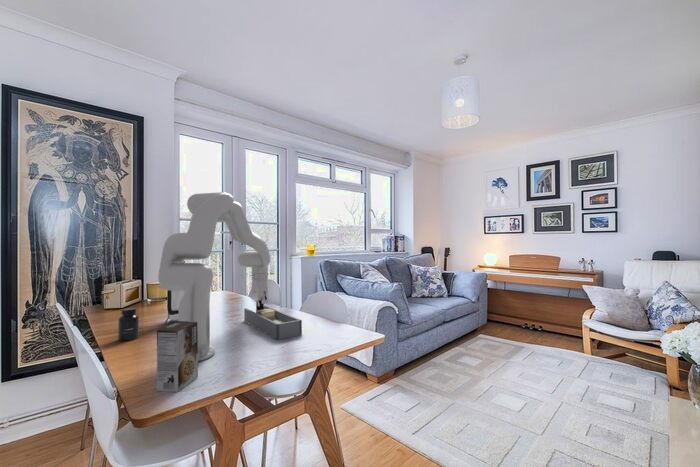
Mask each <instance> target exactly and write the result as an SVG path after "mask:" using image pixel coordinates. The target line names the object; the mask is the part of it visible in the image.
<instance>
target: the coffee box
mask: <svg viewBox="0 0 700 467" xmlns="http://www.w3.org/2000/svg"><path fill="white" fill-rule="evenodd" d="M198 377H199V361H198V333H197V322H189V321H174V322H173V323H171V324H170V323H169V324H167V325H165V326H163V327H160V328H158V329H157V330H156V391H157V392H173V393H175V392H176V393H179V392H180V391H182V390H183V389H184V388H185V387H187V386H189V385H190V384H191V383H192V382H193V381H194V380H196V379H198Z"/></svg>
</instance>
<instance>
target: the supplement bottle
mask: <svg viewBox="0 0 700 467" xmlns="http://www.w3.org/2000/svg"><path fill="white" fill-rule="evenodd" d="M117 322H118V323H117V324H118V326H117V327H118V328H117V340H118V341H119V342H129V341H135V340H136V339H138V338H139V332H140V331H139V330H140V329H139V325H140V324H139V323H140V317H139V315H138V314H137V308H135V307H130V308H129V307H128V308H123V309H121V316H119V317H118V320H117Z"/></svg>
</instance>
